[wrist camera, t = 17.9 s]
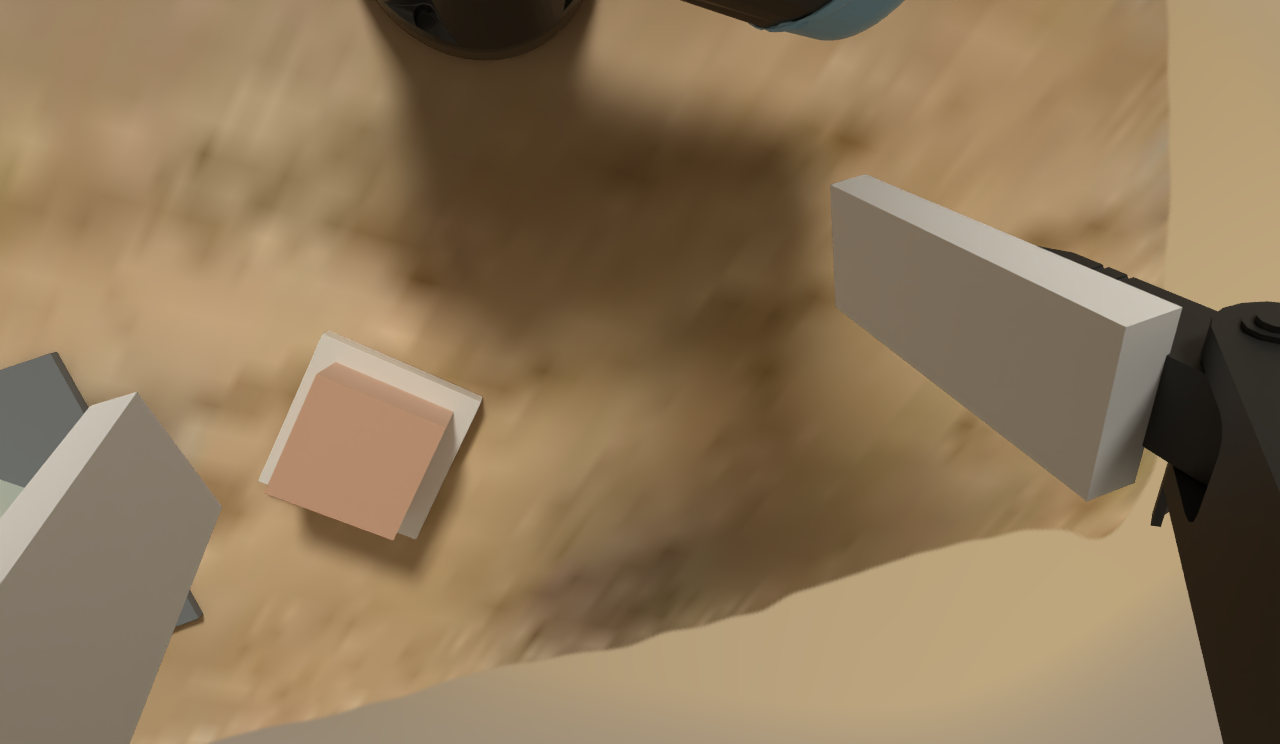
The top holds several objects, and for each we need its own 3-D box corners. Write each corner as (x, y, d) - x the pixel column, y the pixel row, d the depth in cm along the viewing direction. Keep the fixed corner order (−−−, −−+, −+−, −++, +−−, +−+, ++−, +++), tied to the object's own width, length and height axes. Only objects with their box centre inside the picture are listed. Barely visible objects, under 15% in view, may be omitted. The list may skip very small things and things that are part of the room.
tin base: (266, 473, 46) (232, 504, 41) (329, 330, 45) (302, 343, 40) (419, 530, 49) (405, 567, 43) (482, 396, 47) (476, 417, 42)
